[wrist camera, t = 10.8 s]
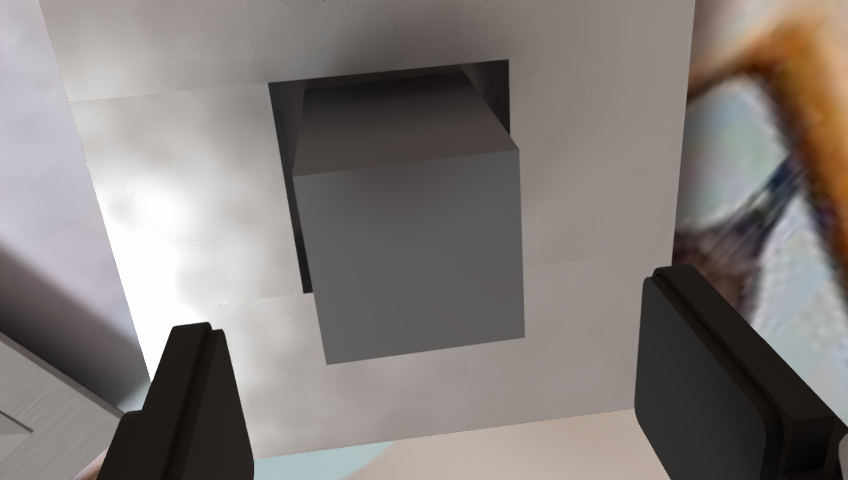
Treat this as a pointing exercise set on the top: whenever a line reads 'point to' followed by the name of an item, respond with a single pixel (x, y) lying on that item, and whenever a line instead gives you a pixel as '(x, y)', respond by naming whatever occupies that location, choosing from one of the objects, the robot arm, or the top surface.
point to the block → (409, 217)
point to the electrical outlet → (47, 419)
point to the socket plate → (278, 211)
